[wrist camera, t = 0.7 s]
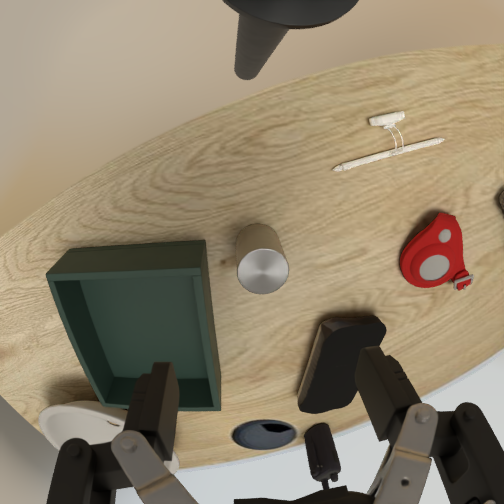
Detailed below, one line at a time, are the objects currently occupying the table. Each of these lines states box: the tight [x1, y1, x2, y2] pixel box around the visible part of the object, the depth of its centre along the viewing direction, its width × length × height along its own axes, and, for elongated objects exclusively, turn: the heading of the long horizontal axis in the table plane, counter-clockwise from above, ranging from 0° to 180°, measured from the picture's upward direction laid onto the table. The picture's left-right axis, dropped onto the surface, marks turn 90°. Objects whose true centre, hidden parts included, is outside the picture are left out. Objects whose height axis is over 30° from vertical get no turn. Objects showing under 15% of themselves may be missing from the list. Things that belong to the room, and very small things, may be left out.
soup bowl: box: [39, 401, 179, 475], centre depth 41 cm, size 24×24×7 cm
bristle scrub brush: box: [297, 316, 386, 414], centre depth 38 cm, size 16×8×4 cm, turn 173°
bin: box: [46, 240, 221, 411], centre depth 32 cm, size 20×16×6 cm
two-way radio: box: [304, 424, 341, 490], centre depth 40 cm, size 6×4×15 cm
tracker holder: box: [400, 212, 474, 291], centre depth 32 cm, size 12×4×10 cm
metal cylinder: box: [236, 224, 289, 294], centre depth 29 cm, size 4×4×6 cm
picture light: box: [332, 111, 445, 171], centre depth 27 cm, size 14×4×2 cm, turn 109°
